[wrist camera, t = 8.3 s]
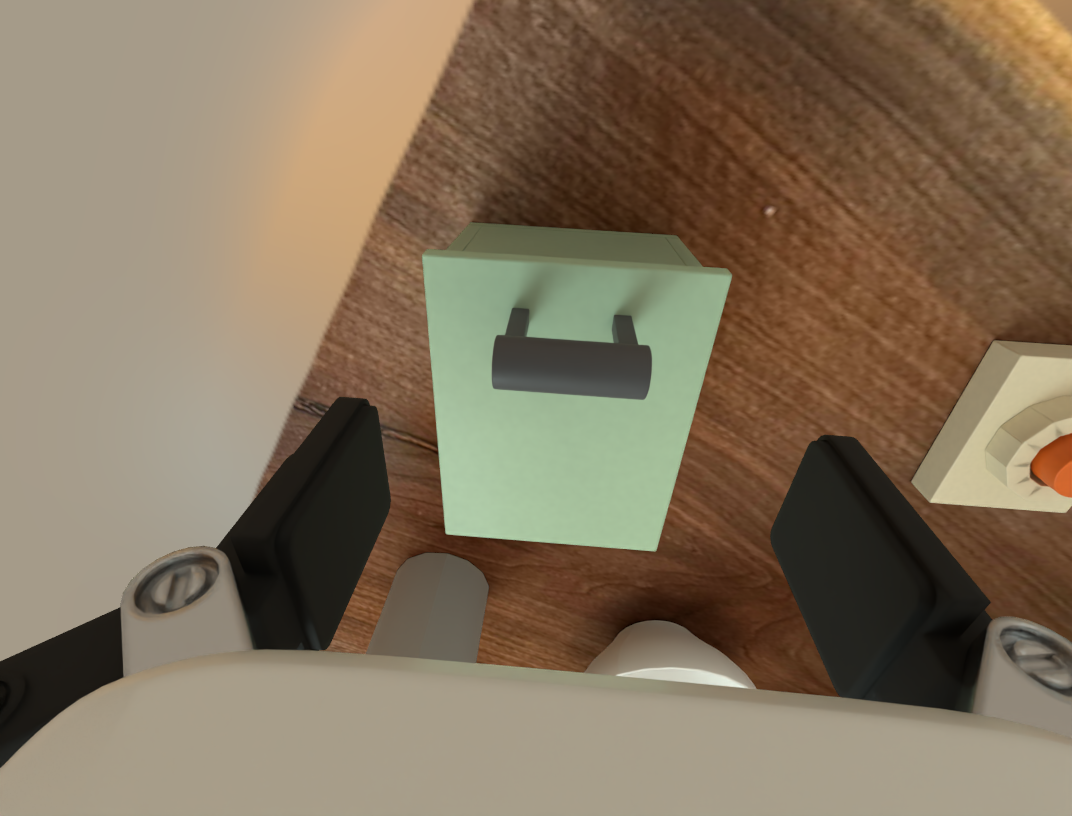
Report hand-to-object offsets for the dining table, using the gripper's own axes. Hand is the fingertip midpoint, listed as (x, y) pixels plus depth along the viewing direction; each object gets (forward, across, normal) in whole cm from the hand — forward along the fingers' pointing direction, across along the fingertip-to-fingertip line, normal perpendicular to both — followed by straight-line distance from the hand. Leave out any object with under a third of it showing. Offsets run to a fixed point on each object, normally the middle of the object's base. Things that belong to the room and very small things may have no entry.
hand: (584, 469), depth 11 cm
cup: (+20, +9, +31) cm, 37 cm away
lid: (+11, 0, +6) cm, 12 cm away
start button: (+16, -30, +9) cm, 35 cm away
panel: (+20, -30, +10) cm, 37 cm away
